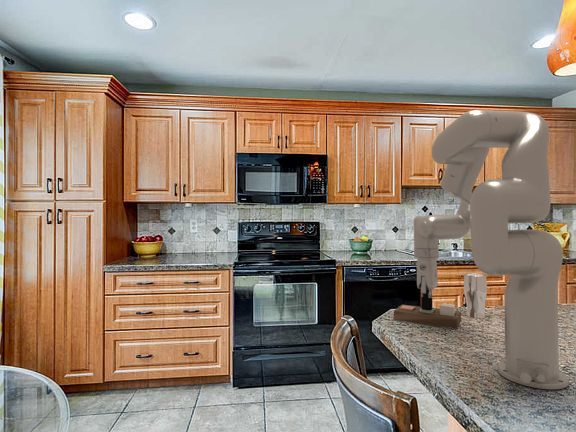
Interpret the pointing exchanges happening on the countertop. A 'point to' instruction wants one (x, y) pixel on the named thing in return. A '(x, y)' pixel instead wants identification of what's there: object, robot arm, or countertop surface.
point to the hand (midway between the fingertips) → (426, 309)
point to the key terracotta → (407, 308)
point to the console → (428, 317)
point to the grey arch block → (475, 294)
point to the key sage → (427, 311)
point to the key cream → (447, 309)
